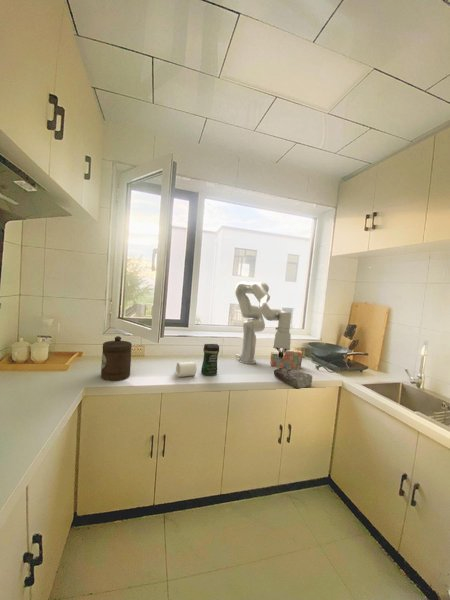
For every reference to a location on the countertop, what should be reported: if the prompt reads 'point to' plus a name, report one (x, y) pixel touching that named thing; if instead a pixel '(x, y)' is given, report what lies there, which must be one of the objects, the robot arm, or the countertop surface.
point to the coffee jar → (210, 359)
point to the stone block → (293, 377)
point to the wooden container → (116, 360)
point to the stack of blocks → (287, 359)
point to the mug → (186, 369)
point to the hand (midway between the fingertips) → (280, 357)
